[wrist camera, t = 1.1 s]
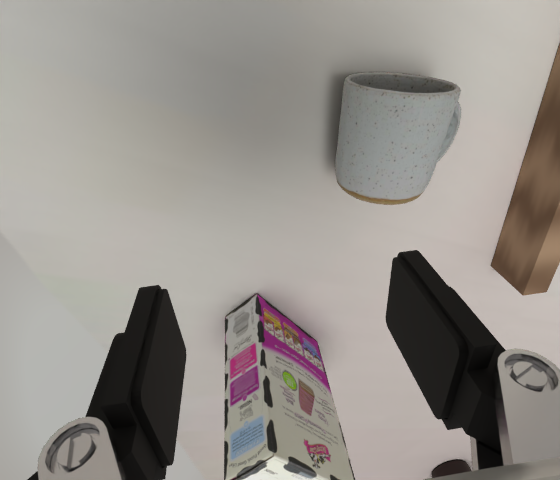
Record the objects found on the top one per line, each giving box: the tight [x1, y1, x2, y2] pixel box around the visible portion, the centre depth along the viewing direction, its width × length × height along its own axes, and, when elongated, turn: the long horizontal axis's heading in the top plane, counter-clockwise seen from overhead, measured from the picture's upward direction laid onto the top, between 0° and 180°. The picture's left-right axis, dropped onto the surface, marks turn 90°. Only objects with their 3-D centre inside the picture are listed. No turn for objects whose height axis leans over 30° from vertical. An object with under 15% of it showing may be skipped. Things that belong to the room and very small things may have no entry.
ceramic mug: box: [335, 72, 461, 205], centre depth 26 cm, size 11×8×8 cm
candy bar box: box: [224, 294, 355, 480], centre depth 33 cm, size 11×5×16 cm, turn 40°
